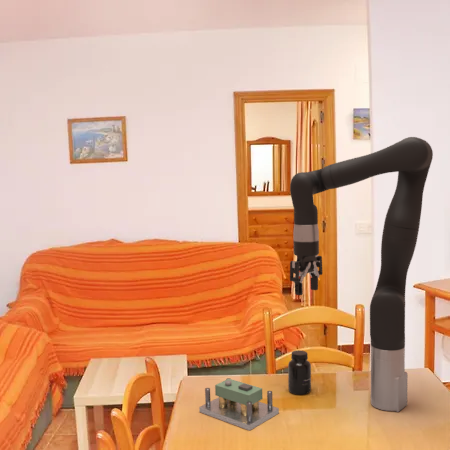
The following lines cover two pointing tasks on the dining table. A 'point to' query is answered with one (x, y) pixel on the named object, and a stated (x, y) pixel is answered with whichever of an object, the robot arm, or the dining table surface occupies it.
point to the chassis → (239, 411)
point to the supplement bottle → (299, 373)
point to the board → (238, 391)
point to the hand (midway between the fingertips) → (306, 292)
